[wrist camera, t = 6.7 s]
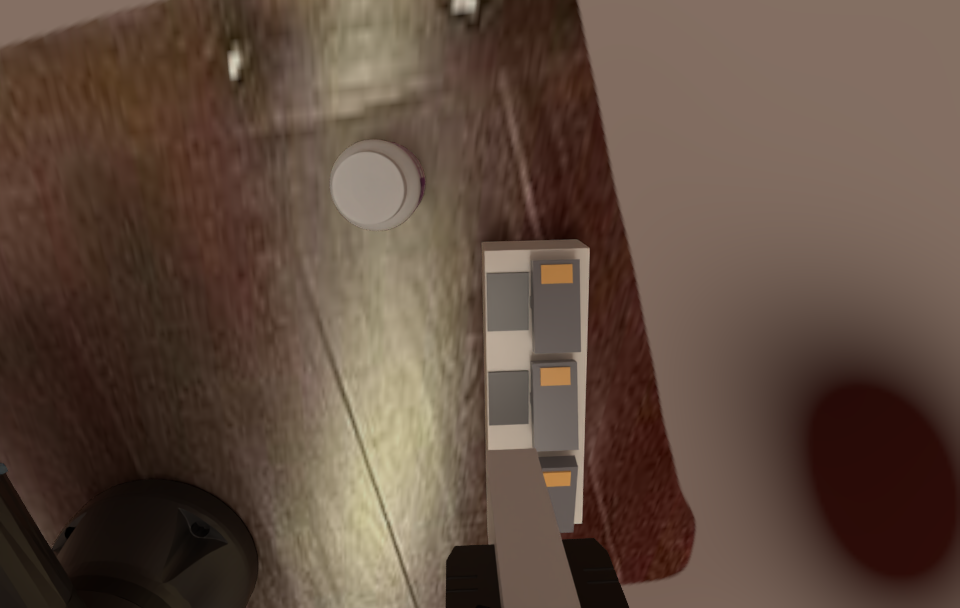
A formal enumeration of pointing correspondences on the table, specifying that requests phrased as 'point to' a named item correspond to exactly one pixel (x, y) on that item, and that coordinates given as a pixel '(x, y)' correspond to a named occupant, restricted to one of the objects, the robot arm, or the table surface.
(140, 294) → the table surface
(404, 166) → the pill bottle
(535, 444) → the rocker
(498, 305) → the power strip
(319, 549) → the table surface
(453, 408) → the table surface
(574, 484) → the block
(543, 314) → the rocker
